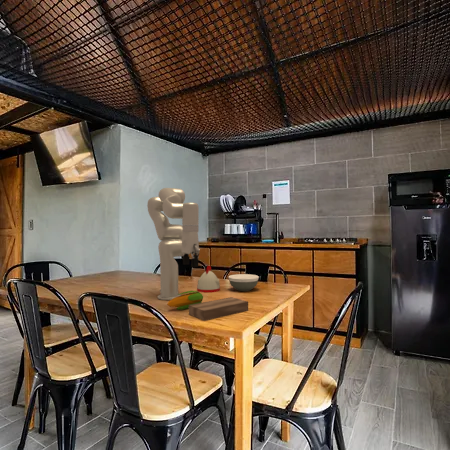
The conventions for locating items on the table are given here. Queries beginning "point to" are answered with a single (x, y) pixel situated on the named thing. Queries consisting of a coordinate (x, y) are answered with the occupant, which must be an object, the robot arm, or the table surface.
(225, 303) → the board
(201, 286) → the kitchen timer
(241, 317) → the table surface
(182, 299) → the corn
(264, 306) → the table surface
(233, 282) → the bowl
